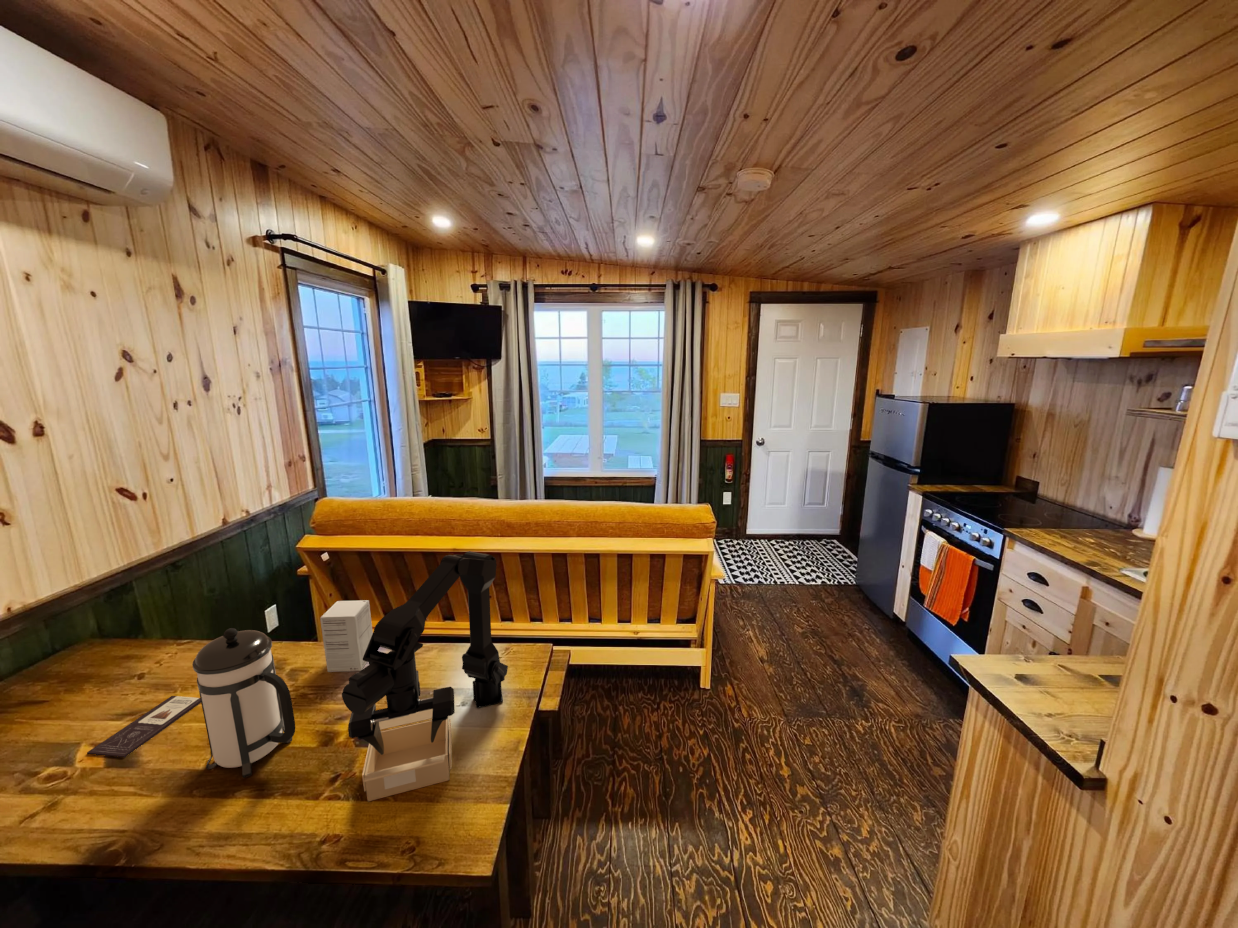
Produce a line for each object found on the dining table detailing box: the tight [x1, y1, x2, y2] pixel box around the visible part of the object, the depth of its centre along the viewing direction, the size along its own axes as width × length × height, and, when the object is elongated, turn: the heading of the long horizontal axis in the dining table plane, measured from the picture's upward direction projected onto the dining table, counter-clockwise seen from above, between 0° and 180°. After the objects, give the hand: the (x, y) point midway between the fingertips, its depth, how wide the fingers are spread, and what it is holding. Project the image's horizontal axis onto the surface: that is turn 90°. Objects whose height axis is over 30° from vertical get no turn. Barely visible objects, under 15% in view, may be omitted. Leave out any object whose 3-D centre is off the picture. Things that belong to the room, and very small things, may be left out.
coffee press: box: [192, 627, 296, 779], centre depth 99 cm, size 17×16×30 cm
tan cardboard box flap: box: [379, 709, 433, 731], centre depth 104 cm, size 14×4×1 cm, turn 109°
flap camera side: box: [362, 755, 445, 783], centre depth 91 cm, size 14×4×1 cm, turn 109°
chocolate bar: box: [86, 695, 201, 759], centre depth 110 cm, size 9×1×18 cm
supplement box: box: [319, 599, 374, 673], centre depth 133 cm, size 10×9×17 cm
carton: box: [361, 717, 453, 802], centre depth 98 cm, size 16×12×6 cm
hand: (408, 746), depth 94 cm, fingers open, 9 cm apart
